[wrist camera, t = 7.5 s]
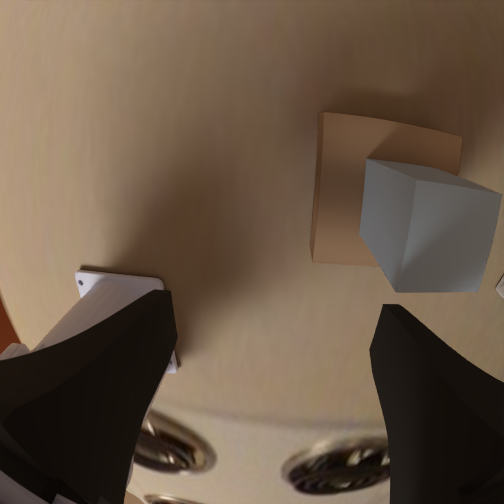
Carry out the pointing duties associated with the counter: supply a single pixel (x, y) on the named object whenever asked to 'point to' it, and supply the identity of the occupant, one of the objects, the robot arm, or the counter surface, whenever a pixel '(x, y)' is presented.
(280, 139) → the counter surface
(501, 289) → the light bulb box
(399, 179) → the slate-blue block
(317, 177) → the tan flat block
